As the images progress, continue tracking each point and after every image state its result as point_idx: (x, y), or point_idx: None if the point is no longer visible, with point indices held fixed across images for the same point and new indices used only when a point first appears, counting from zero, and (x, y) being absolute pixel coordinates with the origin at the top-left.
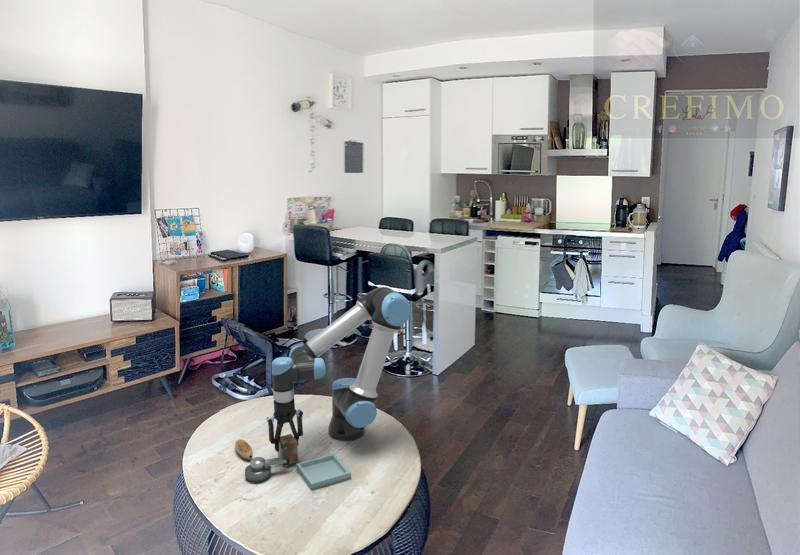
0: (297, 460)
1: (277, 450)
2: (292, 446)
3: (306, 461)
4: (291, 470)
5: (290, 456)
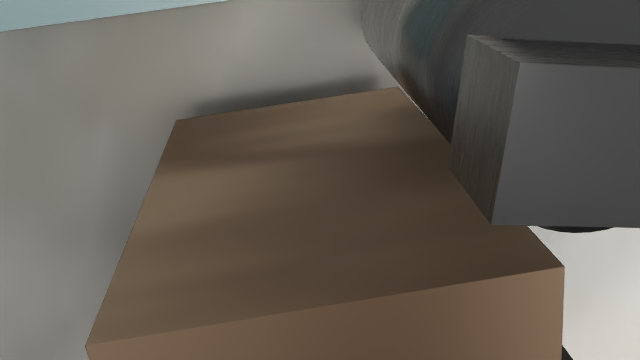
0: (189, 122)
1: None
2: (272, 246)
3: (30, 7)
4: (312, 3)
5: (318, 140)
